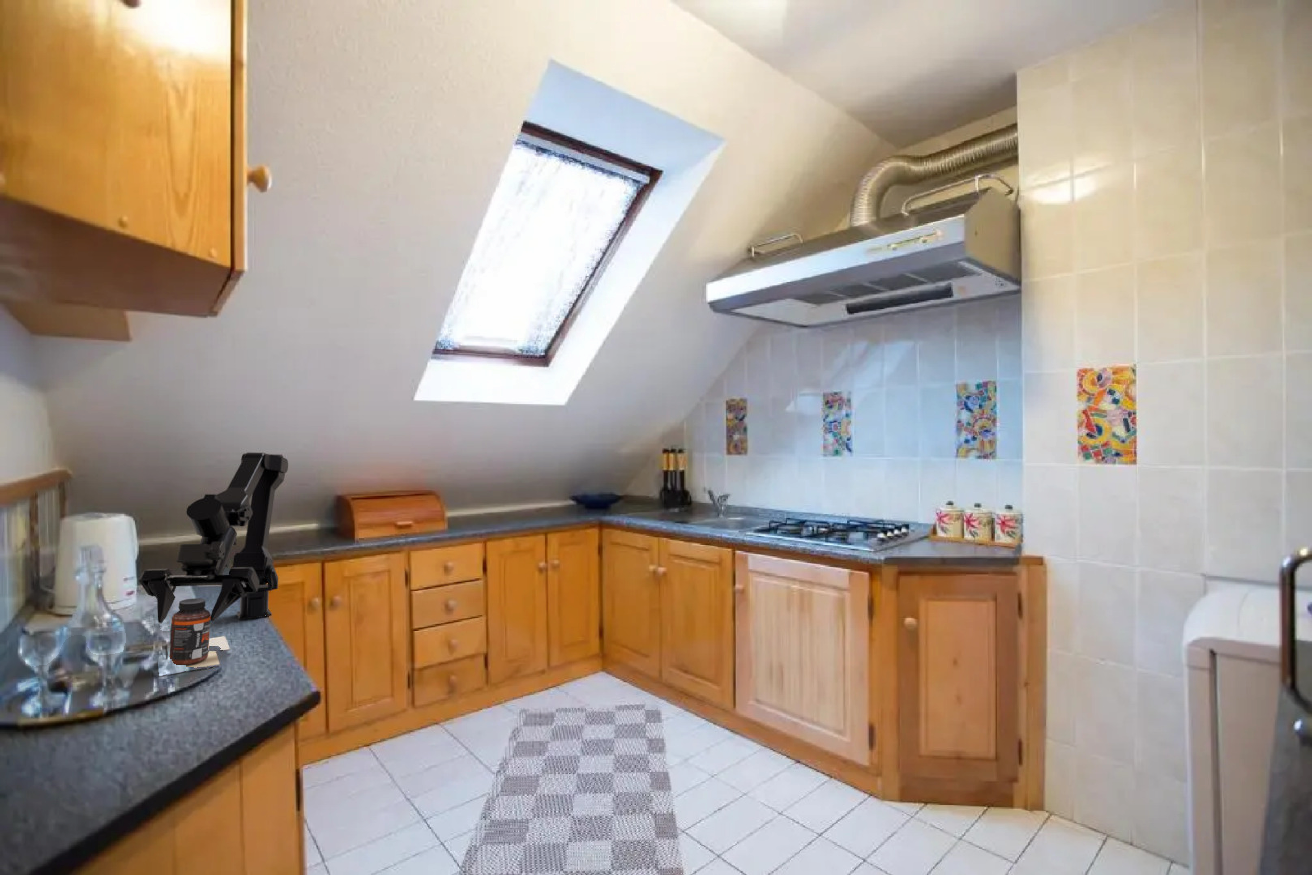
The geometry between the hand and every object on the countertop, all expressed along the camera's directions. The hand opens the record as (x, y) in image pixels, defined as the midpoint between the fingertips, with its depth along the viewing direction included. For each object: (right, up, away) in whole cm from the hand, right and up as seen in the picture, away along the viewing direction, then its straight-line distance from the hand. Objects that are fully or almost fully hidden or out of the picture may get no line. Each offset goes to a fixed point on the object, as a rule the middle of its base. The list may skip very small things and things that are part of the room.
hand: (186, 620), depth 117 cm
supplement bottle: (-1, -8, +2) cm, 8 cm away
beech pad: (-1, -9, +1) cm, 9 cm away
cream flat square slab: (-6, -8, +11) cm, 15 cm away
